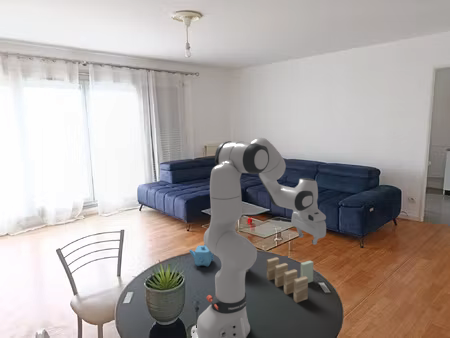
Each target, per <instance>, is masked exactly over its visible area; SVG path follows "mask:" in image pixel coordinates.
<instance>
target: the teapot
mask: <svg viewBox="0 0 450 338" xmlns="http://www.w3.org/2000/svg"><path fill="white" fill-rule="evenodd" d="M188 252H189V253H190V254H191V256H192V257H193V259H194V262H193V263H194V265H195V266H196V267H200V266H205V267H207V268H208V267H209V266H210V265H211V263H212V261H214V260H215V257H214V256H215V255H214V254H213V253H211V252H210V251H209V249H208V248H207V247H206V245H205V243H204V245H197V246H196V247H195V250H194V251H193V250H192V249H190V250H188Z"/></svg>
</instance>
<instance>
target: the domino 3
mask: <svg viewBox="0 0 450 338" xmlns="http://www.w3.org/2000/svg"><path fill="white" fill-rule="evenodd" d="M297 278H298V270H297V269H295V268H293V269H290V270H288V271H286V272H284V285H283V293H284V294H285V295H290V294H294V279H297Z"/></svg>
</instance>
